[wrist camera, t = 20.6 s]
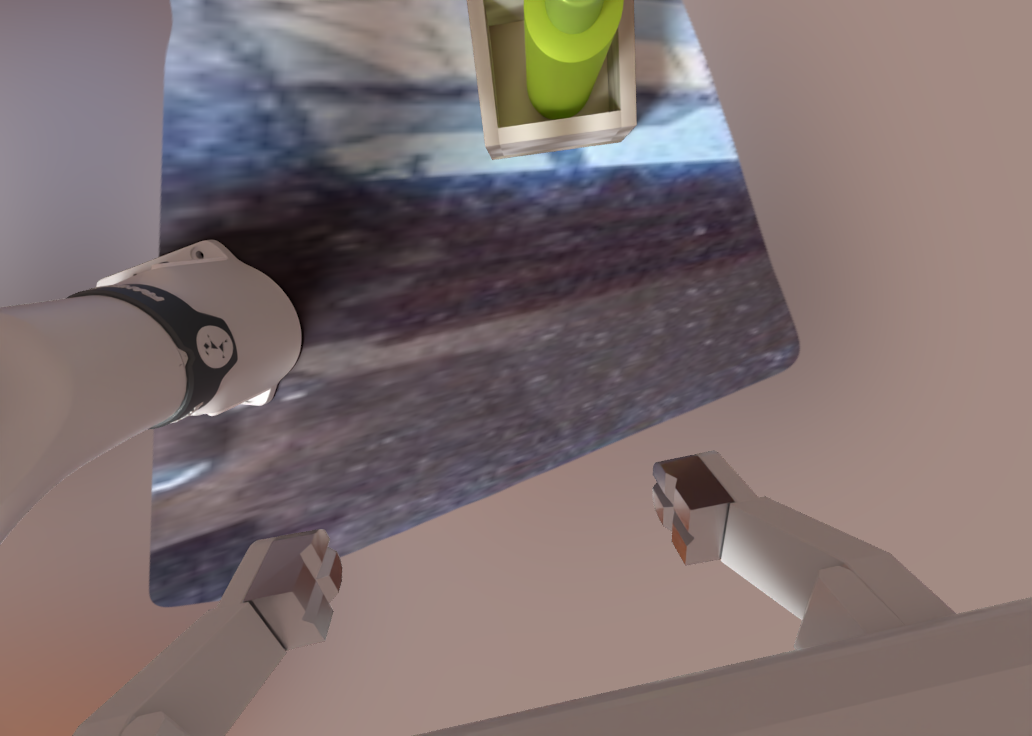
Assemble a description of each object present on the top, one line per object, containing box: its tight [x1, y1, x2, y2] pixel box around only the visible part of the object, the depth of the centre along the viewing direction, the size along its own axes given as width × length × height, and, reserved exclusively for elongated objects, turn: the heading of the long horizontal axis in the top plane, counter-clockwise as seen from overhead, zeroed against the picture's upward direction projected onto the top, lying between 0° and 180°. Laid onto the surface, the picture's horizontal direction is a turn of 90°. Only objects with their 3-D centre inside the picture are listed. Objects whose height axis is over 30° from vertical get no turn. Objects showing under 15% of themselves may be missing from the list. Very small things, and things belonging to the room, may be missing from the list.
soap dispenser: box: [524, 0, 624, 120], centre depth 26 cm, size 6×7×20 cm
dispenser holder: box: [467, 0, 637, 160], centre depth 34 cm, size 12×11×6 cm
